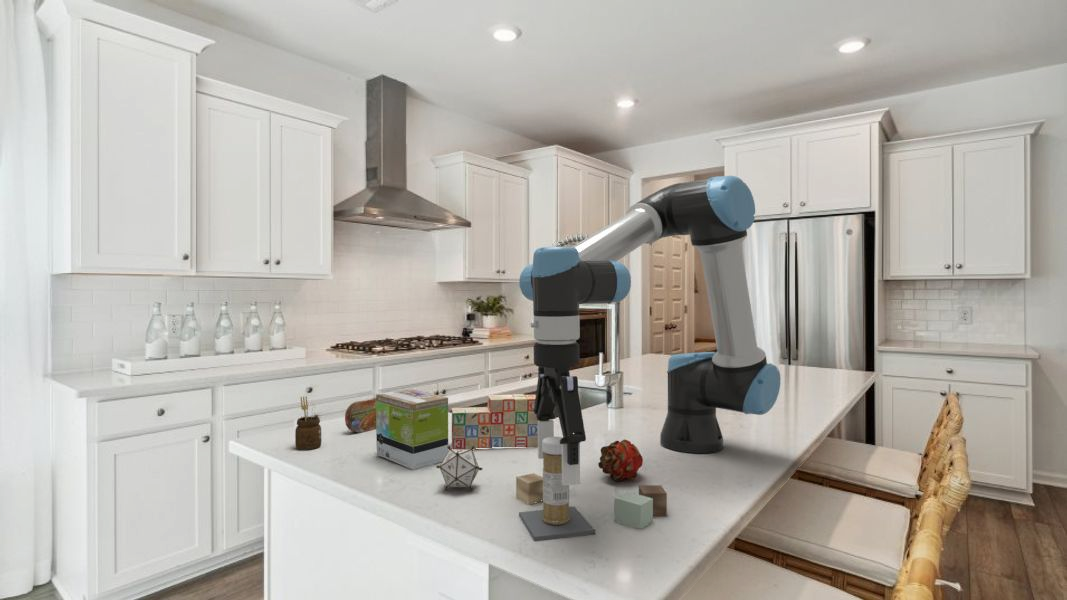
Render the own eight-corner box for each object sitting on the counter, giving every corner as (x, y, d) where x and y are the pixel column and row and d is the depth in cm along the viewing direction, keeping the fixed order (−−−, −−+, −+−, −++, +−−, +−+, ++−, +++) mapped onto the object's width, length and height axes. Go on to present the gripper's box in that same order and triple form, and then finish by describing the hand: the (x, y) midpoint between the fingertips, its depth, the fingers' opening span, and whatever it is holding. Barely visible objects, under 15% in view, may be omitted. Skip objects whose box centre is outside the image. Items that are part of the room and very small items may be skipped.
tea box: (374, 456, 130) (374, 393, 130) (411, 448, 138) (411, 387, 138) (412, 471, 120) (412, 402, 120) (449, 460, 128) (450, 395, 127)
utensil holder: (300, 452, 134) (300, 401, 134) (291, 446, 139) (291, 397, 138) (325, 447, 138) (325, 398, 138) (315, 442, 143) (315, 394, 142)
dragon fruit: (607, 495, 111) (624, 485, 121) (643, 473, 108) (657, 465, 119) (585, 456, 114) (603, 449, 124) (619, 434, 111) (635, 430, 122)
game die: (462, 511, 108) (456, 480, 102) (431, 487, 112) (424, 456, 106) (493, 478, 114) (489, 447, 107) (462, 457, 118) (457, 426, 112)
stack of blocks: (451, 451, 135) (452, 400, 135) (451, 444, 141) (451, 395, 141) (539, 447, 139) (540, 397, 138) (535, 441, 145) (535, 393, 145)
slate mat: (574, 509, 99) (574, 506, 99) (595, 533, 89) (595, 529, 89) (519, 515, 96) (519, 512, 96) (534, 540, 87) (534, 536, 87)
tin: (350, 435, 149) (350, 404, 149) (342, 434, 151) (342, 402, 151) (393, 424, 162) (393, 395, 162) (385, 423, 164) (385, 394, 163)
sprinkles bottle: (568, 514, 95) (568, 435, 95) (570, 526, 91) (571, 442, 91) (541, 515, 95) (541, 435, 95) (542, 526, 91) (543, 443, 90)
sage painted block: (626, 514, 98) (627, 491, 98) (652, 522, 94) (652, 498, 94) (614, 521, 95) (614, 497, 94) (640, 529, 91) (640, 505, 91)
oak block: (533, 494, 107) (533, 473, 107) (546, 500, 104) (546, 478, 104) (516, 498, 105) (516, 477, 105) (528, 505, 102) (528, 483, 101)
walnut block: (661, 507, 101) (661, 485, 101) (666, 516, 97) (666, 493, 97) (638, 507, 101) (638, 485, 101) (643, 516, 97) (643, 493, 97)
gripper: (516, 335, 104) (517, 450, 104) (557, 351, 79) (558, 500, 80) (555, 334, 105) (556, 446, 106) (607, 348, 81) (608, 494, 82)
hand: (557, 470), depth 93 cm, fingers open, 13 cm apart
